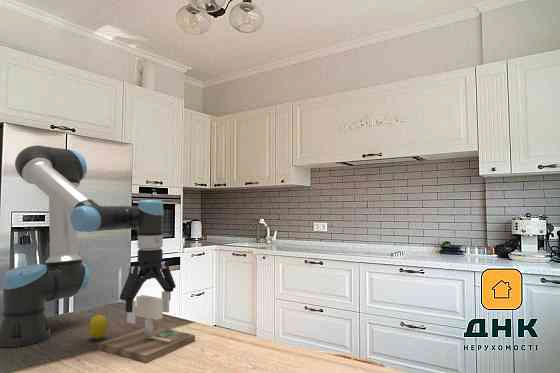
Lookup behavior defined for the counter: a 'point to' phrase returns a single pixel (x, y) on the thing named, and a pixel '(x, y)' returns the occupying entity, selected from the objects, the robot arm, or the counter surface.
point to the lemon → (98, 326)
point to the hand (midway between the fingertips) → (149, 317)
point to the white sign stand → (150, 313)
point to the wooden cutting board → (146, 344)
